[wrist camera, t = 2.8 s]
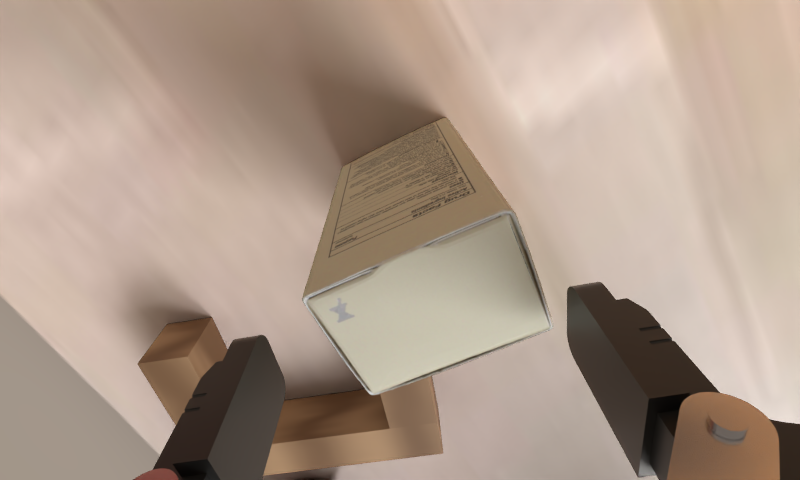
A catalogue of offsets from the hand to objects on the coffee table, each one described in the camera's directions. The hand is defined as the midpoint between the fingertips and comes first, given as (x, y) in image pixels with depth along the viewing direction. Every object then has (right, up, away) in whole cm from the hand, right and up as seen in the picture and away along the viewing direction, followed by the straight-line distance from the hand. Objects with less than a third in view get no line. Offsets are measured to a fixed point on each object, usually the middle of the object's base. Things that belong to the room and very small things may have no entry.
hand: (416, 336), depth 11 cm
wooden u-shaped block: (-6, -7, +18) cm, 20 cm away
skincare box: (0, +6, +12) cm, 13 cm away
